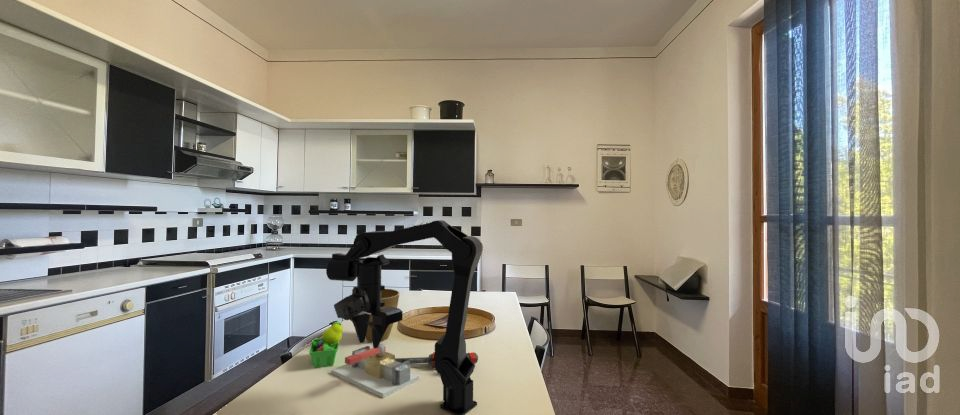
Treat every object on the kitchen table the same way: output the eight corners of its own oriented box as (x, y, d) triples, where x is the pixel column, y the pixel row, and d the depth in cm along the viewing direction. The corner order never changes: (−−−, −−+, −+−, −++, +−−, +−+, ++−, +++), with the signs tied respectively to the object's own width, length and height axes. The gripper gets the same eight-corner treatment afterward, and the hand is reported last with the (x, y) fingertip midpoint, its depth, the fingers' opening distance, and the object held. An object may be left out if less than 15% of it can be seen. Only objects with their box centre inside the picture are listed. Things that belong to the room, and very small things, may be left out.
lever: (380, 352, 101) (380, 343, 101) (386, 354, 100) (386, 344, 100) (344, 366, 92) (344, 356, 92) (350, 368, 91) (350, 358, 91)
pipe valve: (412, 382, 96) (412, 361, 96) (397, 389, 91) (397, 368, 92) (365, 362, 107) (365, 344, 107) (349, 368, 103) (350, 349, 103)
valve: (479, 361, 115) (477, 375, 100) (398, 363, 116) (384, 378, 101) (478, 340, 116) (477, 351, 101) (398, 342, 117) (384, 354, 102)
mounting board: (419, 379, 98) (419, 375, 98) (383, 397, 88) (383, 393, 88) (367, 359, 111) (367, 355, 111) (331, 373, 101) (331, 369, 101)
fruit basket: (312, 355, 113) (313, 319, 113) (343, 351, 116) (343, 316, 116) (308, 370, 103) (309, 330, 103) (342, 366, 105) (342, 327, 106)
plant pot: (353, 334, 132) (353, 290, 132) (394, 329, 138) (394, 287, 138) (357, 349, 118) (358, 300, 118) (403, 342, 125) (403, 295, 125)
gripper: (317, 282, 89) (317, 346, 89) (365, 293, 78) (364, 366, 78) (357, 276, 98) (356, 334, 98) (404, 285, 87) (403, 350, 87)
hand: (368, 345), depth 90 cm, fingers open, 5 cm apart
